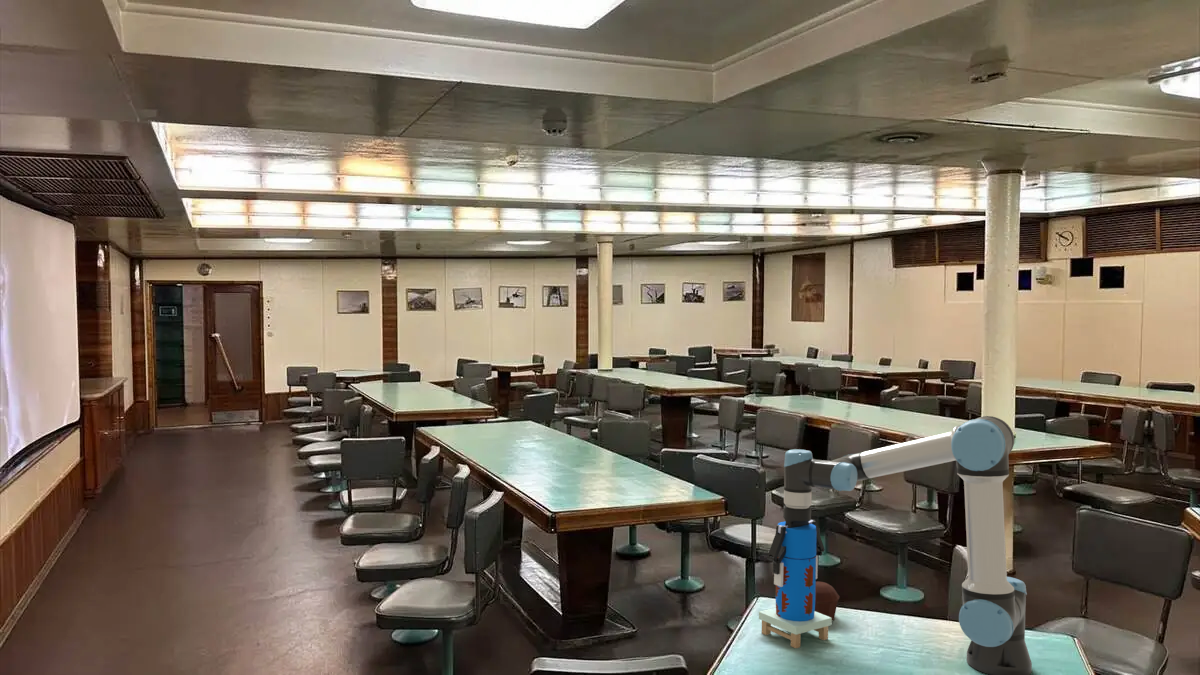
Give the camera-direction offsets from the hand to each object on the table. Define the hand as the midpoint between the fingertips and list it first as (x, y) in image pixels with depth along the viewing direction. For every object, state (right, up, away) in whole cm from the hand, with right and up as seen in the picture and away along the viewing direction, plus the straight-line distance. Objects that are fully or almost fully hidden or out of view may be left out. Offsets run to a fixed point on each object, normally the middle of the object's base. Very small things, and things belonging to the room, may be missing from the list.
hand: (795, 581), depth 233 cm
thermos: (0, -10, 0) cm, 10 cm away
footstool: (0, -15, 0) cm, 15 cm away
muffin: (+11, -15, +16) cm, 25 cm away
